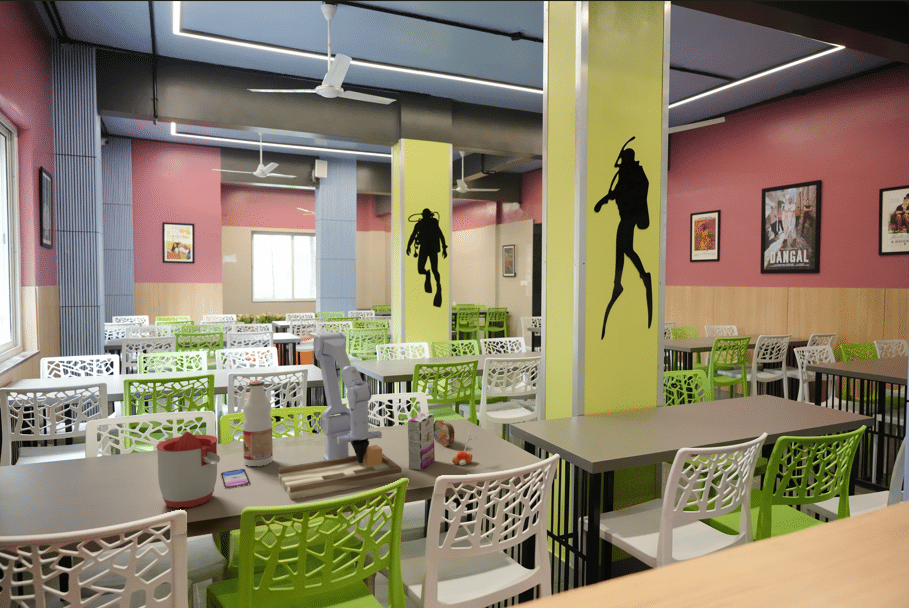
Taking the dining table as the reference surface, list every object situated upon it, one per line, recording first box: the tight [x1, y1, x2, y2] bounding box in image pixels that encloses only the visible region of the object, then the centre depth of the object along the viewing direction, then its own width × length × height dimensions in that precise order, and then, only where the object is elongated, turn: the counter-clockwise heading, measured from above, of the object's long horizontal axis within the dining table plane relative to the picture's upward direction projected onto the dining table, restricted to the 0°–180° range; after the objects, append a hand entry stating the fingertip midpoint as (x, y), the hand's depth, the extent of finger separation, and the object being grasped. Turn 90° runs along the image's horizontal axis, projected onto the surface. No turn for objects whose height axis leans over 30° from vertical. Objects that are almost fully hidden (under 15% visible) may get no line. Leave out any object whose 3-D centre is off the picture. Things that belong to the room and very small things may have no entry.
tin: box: [434, 419, 456, 448], centre depth 211 cm, size 15×3×8 cm, turn 25°
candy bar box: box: [407, 412, 436, 471], centre depth 186 cm, size 11×5×16 cm, turn 159°
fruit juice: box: [242, 380, 274, 467], centre depth 189 cm, size 9×9×28 cm
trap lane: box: [277, 452, 403, 500], centre depth 174 cm, size 19×34×4 cm, turn 118°
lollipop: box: [451, 428, 478, 466], centre depth 188 cm, size 6×10×12 cm, turn 107°
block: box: [363, 444, 383, 466], centre depth 183 cm, size 5×5×5 cm
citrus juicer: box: [155, 431, 221, 509], centre depth 156 cm, size 16×17×20 cm
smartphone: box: [220, 468, 251, 489], centre depth 174 cm, size 8×15×1 cm, turn 27°
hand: (360, 462), depth 181 cm, fingers closed
